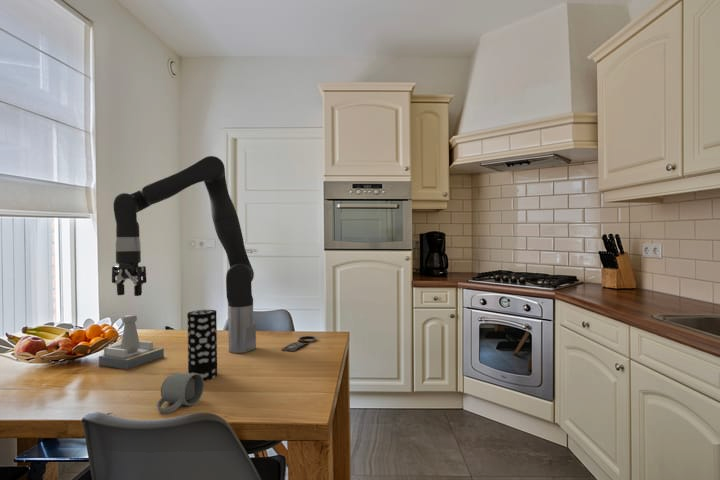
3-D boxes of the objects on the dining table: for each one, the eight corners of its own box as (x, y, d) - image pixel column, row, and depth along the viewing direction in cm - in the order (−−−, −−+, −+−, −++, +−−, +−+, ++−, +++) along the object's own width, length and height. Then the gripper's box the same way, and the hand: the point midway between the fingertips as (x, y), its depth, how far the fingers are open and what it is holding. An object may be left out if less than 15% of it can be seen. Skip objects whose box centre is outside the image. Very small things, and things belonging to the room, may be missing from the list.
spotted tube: (223, 373, 118) (222, 310, 118) (204, 382, 110) (203, 315, 110) (202, 370, 121) (201, 309, 121) (182, 379, 113) (181, 314, 113)
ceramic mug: (179, 395, 101) (178, 367, 101) (205, 397, 99) (204, 369, 99) (148, 413, 91) (147, 382, 91) (176, 416, 89) (175, 385, 89)
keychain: (278, 351, 142) (278, 346, 142) (303, 338, 160) (303, 334, 160) (295, 353, 139) (295, 348, 139) (319, 340, 157) (319, 335, 157)
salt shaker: (143, 349, 135) (143, 313, 135) (132, 354, 129) (131, 317, 129) (128, 349, 135) (128, 313, 135) (116, 354, 130) (116, 317, 130)
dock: (163, 356, 136) (163, 341, 136) (127, 369, 123) (127, 352, 123) (136, 353, 141) (136, 338, 141) (99, 364, 128) (98, 349, 128)
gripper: (152, 249, 133) (153, 294, 133) (124, 249, 138) (125, 293, 138) (132, 250, 126) (133, 297, 126) (104, 250, 131) (105, 296, 131)
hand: (129, 295), depth 132 cm, fingers open, 8 cm apart
